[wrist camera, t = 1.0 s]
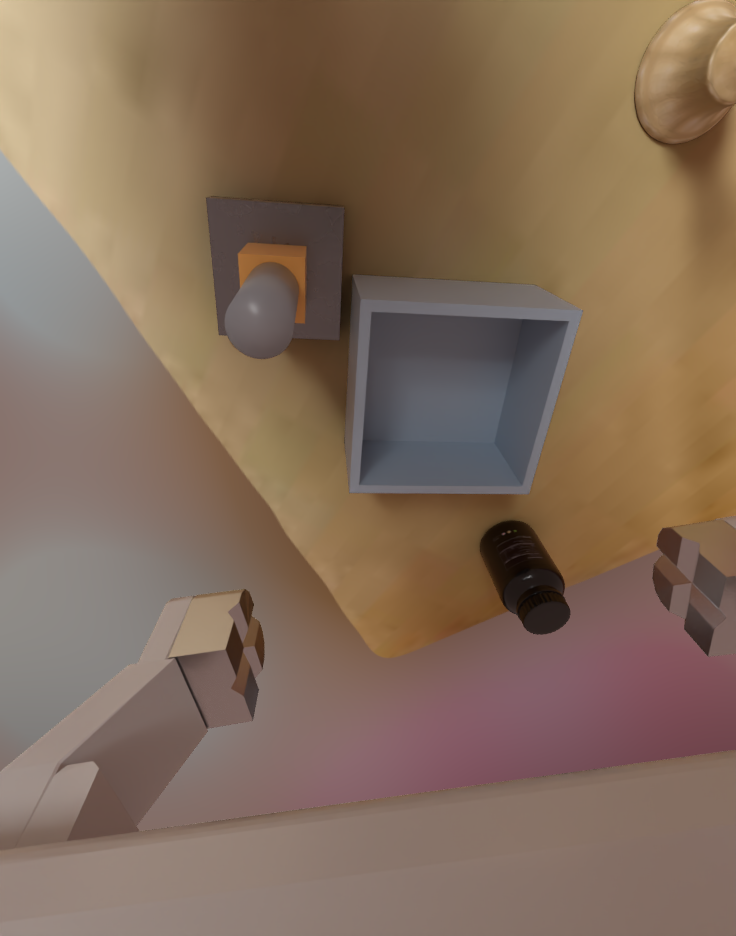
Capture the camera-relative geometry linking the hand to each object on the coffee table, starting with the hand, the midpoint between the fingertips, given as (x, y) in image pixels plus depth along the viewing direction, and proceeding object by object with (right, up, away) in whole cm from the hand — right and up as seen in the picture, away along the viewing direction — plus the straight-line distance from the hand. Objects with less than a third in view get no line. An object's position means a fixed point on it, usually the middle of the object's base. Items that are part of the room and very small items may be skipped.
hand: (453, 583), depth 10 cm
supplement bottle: (+15, -6, +48) cm, 51 cm away
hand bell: (+22, +31, +26) cm, 46 cm away
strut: (-9, +18, +28) cm, 35 cm away
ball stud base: (-9, +19, +30) cm, 36 cm away
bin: (+4, +12, +36) cm, 38 cm away
